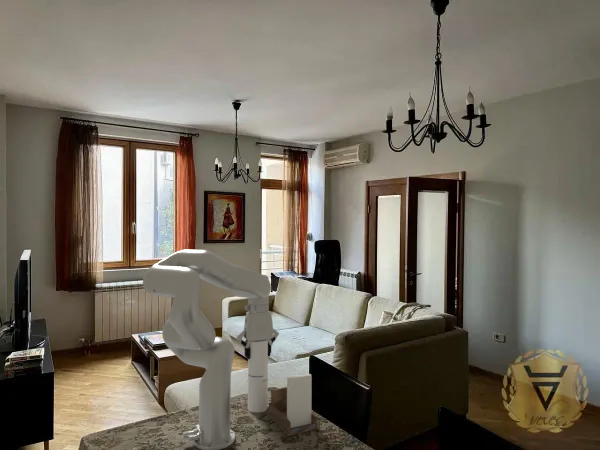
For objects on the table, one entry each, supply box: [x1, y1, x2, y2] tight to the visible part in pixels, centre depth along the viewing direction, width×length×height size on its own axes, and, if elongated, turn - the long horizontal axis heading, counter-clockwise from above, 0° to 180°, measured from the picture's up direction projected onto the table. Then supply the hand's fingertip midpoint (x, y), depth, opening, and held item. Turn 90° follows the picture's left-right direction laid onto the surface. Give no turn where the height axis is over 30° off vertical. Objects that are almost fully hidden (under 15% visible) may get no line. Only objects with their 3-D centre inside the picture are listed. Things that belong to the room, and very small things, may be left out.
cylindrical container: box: [247, 340, 269, 413], centre depth 147 cm, size 7×7×25 cm
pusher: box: [286, 373, 313, 428], centre depth 132 cm, size 8×1×16 cm, turn 116°
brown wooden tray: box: [268, 386, 319, 437], centre depth 136 cm, size 11×17×9 cm, turn 26°
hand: (257, 356), depth 147 cm, fingers closed on cylindrical container, 7 cm apart
